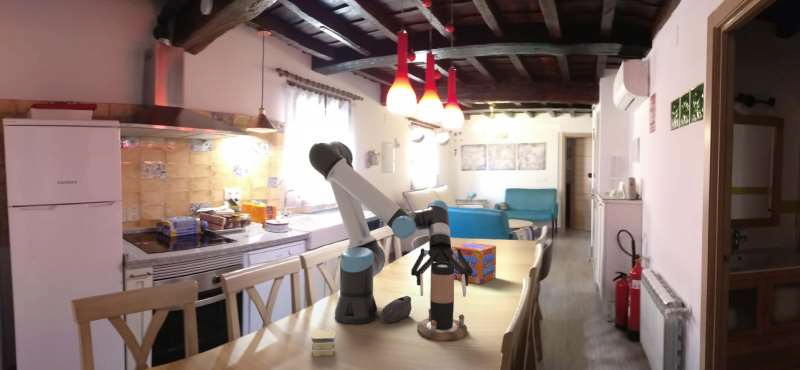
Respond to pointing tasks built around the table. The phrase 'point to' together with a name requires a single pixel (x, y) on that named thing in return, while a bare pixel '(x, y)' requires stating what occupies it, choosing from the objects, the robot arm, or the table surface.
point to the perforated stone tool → (396, 309)
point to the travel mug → (442, 295)
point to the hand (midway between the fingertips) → (443, 294)
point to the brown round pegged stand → (430, 332)
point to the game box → (477, 261)
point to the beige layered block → (322, 342)
